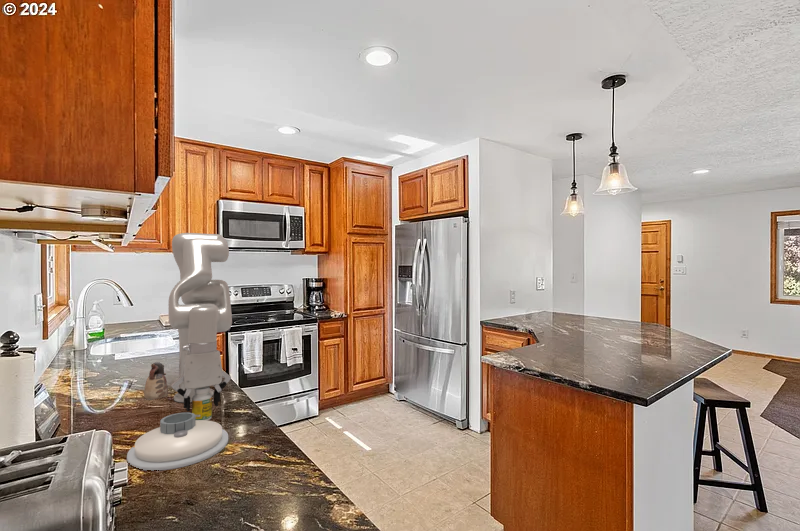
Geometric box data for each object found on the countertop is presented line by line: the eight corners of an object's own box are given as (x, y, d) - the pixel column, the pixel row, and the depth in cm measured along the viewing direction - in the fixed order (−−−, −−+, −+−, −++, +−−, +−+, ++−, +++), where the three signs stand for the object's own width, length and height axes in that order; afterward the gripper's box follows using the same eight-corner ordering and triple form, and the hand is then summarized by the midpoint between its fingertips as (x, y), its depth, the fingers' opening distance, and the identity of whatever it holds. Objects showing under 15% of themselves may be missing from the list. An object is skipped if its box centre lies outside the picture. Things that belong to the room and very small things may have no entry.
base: (105, 458, 90) (105, 453, 90) (189, 424, 111) (189, 420, 111) (167, 479, 82) (167, 473, 82) (246, 438, 102) (246, 433, 102)
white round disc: (229, 446, 94) (229, 428, 94) (136, 470, 83) (136, 449, 83) (214, 421, 109) (214, 406, 109) (133, 439, 98) (133, 421, 98)
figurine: (172, 393, 138) (172, 360, 138) (158, 400, 131) (158, 365, 131) (154, 392, 139) (154, 359, 139) (139, 399, 132) (139, 364, 132)
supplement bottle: (201, 415, 118) (201, 384, 118) (216, 417, 116) (216, 385, 116) (187, 421, 112) (187, 389, 112) (202, 423, 111) (202, 390, 111)
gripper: (170, 353, 106) (169, 417, 106) (236, 346, 117) (235, 404, 116) (167, 349, 112) (167, 409, 112) (230, 342, 123) (230, 398, 122)
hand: (202, 406), depth 114 cm, fingers open, 6 cm apart
